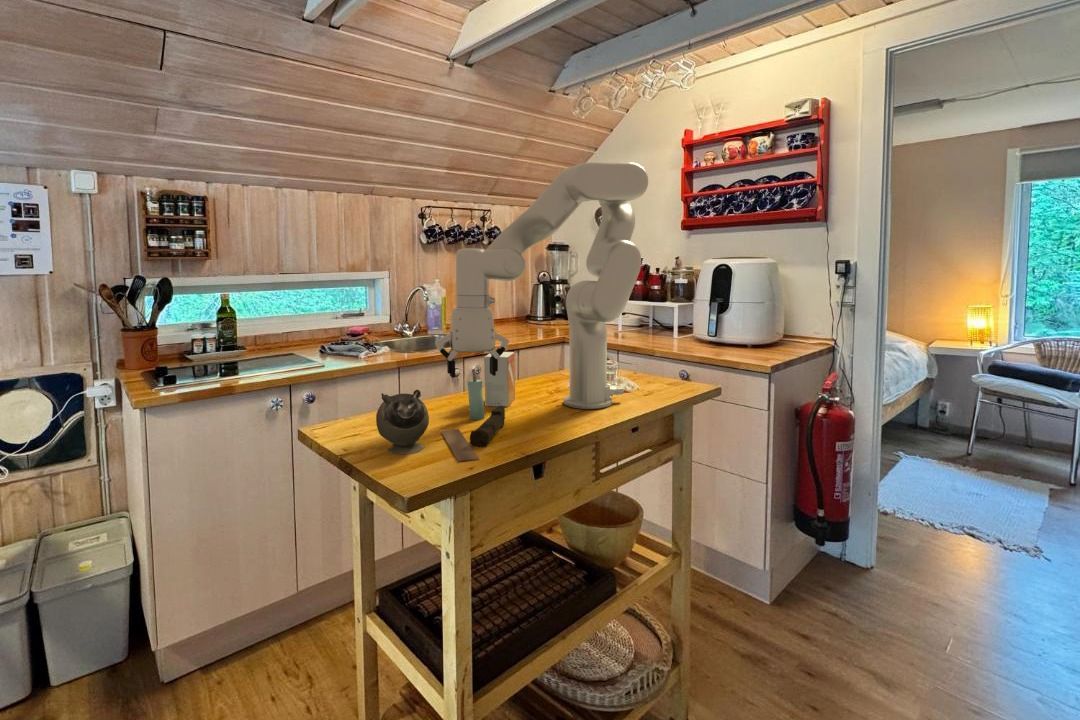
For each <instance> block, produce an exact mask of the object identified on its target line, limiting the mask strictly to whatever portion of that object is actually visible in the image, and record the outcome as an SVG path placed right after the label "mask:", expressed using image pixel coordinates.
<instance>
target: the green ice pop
mask: <svg viewBox="0 0 1080 720" xmlns="http://www.w3.org/2000/svg"><path fill="white" fill-rule="evenodd" d="M471 370H472V371H471V373H472V379H471V380H468V381H467V391H468V407H469V418H470V420H471V421H480V420H483V419H485V407H484V404H485V403H484V393H483V392H484V388H483V380H481V379H477V369H476V368H472V369H471Z"/></svg>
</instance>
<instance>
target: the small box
mask: <svg viewBox="0 0 1080 720" xmlns="http://www.w3.org/2000/svg"><path fill="white" fill-rule="evenodd" d="M515 356H516V355H515V352H514V351H513V352H512V351H504V352H503V353H502V354H501V356H500V357H499V359H498V371H496V376H493V375H491V374H490V357H491V354H490V353H488V354H487V355H485V356H484V357H483V363H484V364H483V366H484V367H483V368H484V371H483V372H484V401H485V403H484V404H485V407H497V406H501V405H502V406H504V408H507V407H509V406H510V405H511V404H512V403H513V402H514V401H515V400H516V373H515V371H516V367H515V366H516V365H515V363H516V359H515Z"/></svg>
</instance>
